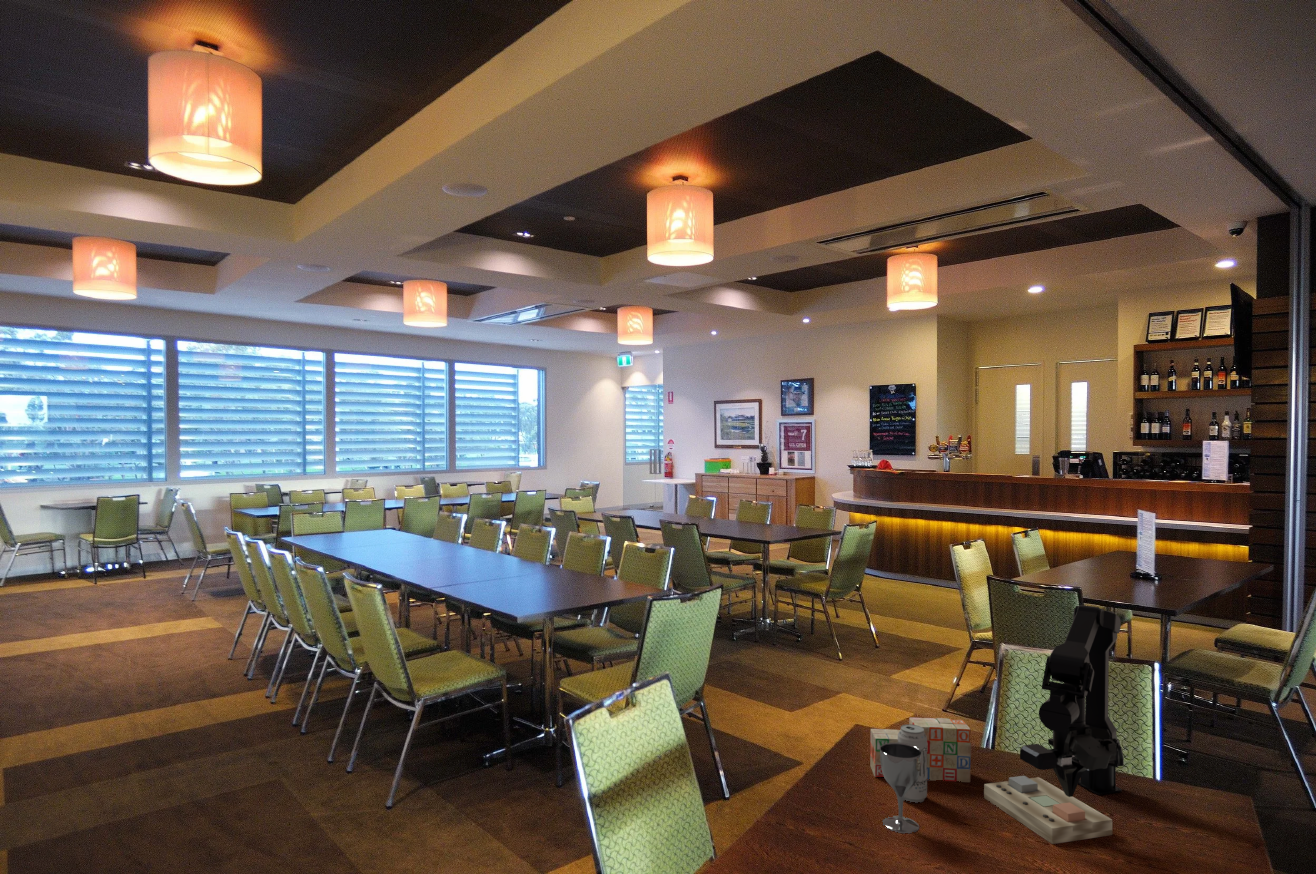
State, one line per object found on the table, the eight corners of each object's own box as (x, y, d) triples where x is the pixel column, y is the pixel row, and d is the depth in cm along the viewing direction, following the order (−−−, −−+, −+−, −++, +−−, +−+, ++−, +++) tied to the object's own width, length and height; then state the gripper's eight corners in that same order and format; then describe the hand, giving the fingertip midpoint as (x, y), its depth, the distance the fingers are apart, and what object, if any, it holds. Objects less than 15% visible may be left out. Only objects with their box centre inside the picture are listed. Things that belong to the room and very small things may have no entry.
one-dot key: (1046, 804, 164) (1046, 795, 164) (1060, 813, 160) (1060, 804, 160) (1030, 806, 163) (1029, 797, 163) (1043, 815, 159) (1043, 806, 159)
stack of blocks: (874, 778, 180) (874, 725, 180) (869, 767, 186) (870, 715, 186) (971, 782, 178) (971, 728, 178) (963, 771, 184) (963, 718, 184)
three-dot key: (1024, 784, 171) (1024, 775, 171) (1037, 792, 167) (1037, 783, 167) (1008, 786, 170) (1008, 777, 170) (1021, 794, 166) (1021, 785, 166)
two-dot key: (1069, 811, 158) (1069, 802, 158) (1085, 821, 154) (1085, 811, 154) (1053, 814, 157) (1053, 804, 157) (1068, 823, 153) (1068, 813, 153)
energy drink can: (916, 806, 166) (916, 735, 166) (892, 796, 170) (892, 727, 171) (932, 798, 169) (932, 729, 169) (908, 789, 174) (908, 721, 174)
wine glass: (882, 832, 155) (882, 756, 155) (877, 813, 163) (878, 741, 163) (924, 836, 153) (924, 759, 153) (917, 816, 161) (917, 743, 161)
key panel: (1038, 790, 173) (1038, 776, 173) (1112, 835, 154) (1112, 818, 154) (984, 798, 170) (984, 783, 170) (1052, 844, 150) (1052, 827, 150)
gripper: (1059, 736, 146) (1059, 820, 146) (1141, 727, 150) (1141, 809, 150) (1017, 716, 156) (1018, 794, 156) (1095, 708, 161) (1095, 784, 161)
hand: (1069, 796), depth 156 cm, fingers closed
